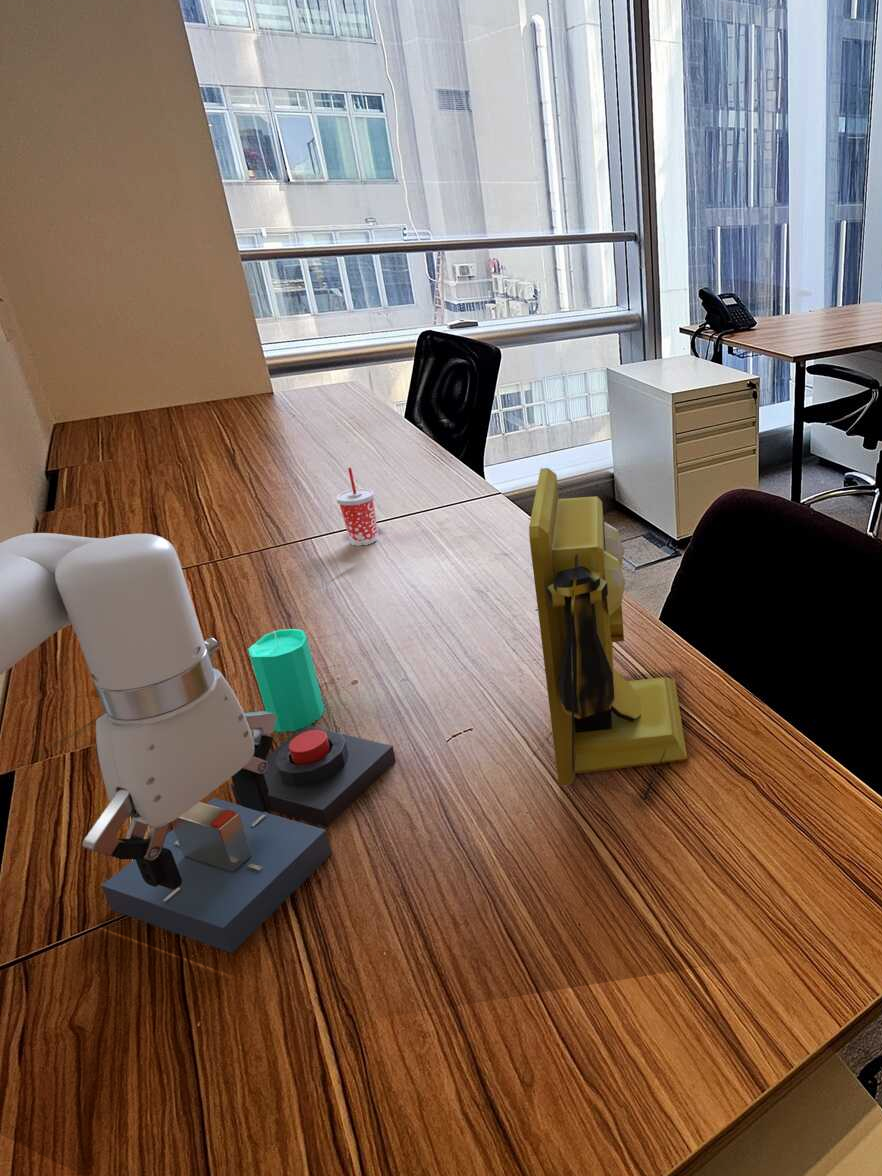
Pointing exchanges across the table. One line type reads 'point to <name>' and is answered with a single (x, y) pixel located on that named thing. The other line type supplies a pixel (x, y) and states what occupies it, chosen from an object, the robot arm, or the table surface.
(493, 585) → the table surface
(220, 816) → the handle
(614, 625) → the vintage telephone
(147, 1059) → the table surface
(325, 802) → the button block
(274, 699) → the candle
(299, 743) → the button
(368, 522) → the beverage cup
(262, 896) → the control panel
